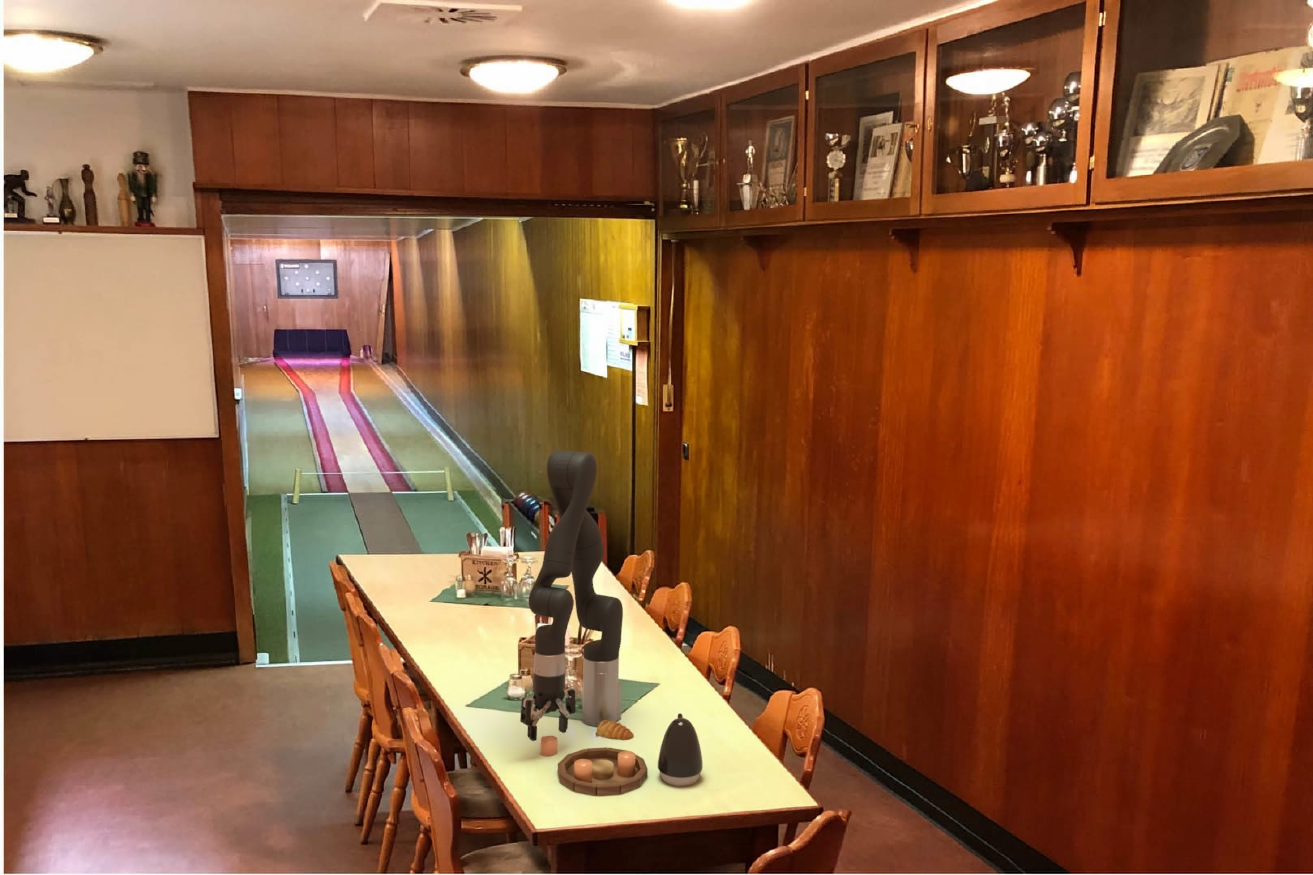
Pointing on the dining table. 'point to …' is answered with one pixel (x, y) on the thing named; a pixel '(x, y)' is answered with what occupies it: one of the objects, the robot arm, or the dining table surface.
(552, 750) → the bead
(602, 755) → the tray
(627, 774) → the bead
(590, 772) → the bead
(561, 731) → the robot arm
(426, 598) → the dining table surface
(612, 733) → the pastry
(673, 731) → the black tapered dome
